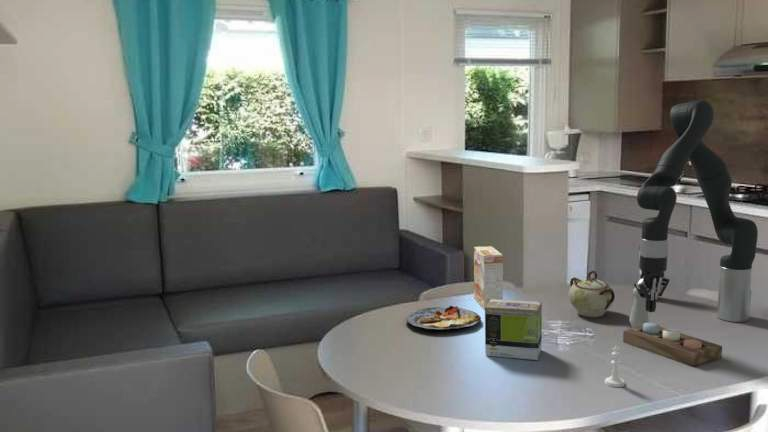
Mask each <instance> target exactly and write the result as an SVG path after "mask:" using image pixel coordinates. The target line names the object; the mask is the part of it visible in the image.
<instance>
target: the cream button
mask: <svg viewBox="0 0 768 432" xmlns="http://www.w3.org/2000/svg"><path fill="white" fill-rule="evenodd" d="M680 333H681V331H680V330H678V329H674V328H667V329H664V330H663V338H662V339H664V340H667V341H670V342H677V341H680Z"/></svg>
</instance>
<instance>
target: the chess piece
mask: <svg viewBox="0 0 768 432" xmlns="http://www.w3.org/2000/svg"><path fill="white" fill-rule="evenodd" d="M611 350H612V351H613V352H611V353H610V354H611V357H612V360H611V362H610V363H611V365H612V371H611V375H610V376H609V377H606V378H605V379H604V384H605V385H606V386H609V387H612V388H621V387H624V386H626V385H625V384H626V383H625V380H624V379H623V378H621V377H620V376H619V370H618V365H620V364H621V363H620V361H619V357H620V352H619V351H620V347H618V345H614V347H612V348H611Z"/></svg>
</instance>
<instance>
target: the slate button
mask: <svg viewBox="0 0 768 432" xmlns="http://www.w3.org/2000/svg"><path fill="white" fill-rule="evenodd" d="M659 327H661V326H660V324H659V323H655V322H649V323H643V333H646V334H649V335H652V336H653V335H657V334H659Z"/></svg>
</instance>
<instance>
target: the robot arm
mask: <svg viewBox="0 0 768 432" xmlns="http://www.w3.org/2000/svg"><path fill="white" fill-rule="evenodd" d="M714 115H715V114H714V109H713V106H712V104H711V103H710V102H708V101H707V100H704V99H701V100H700V99H699V100H693V101H688V102H682V103H679V104H675V105H673V106H672V107H671V109H670V112H669V119H670V123H671V127H672V129H673V131H674V133H675V135H676V137H677V138H678V139H677V140H676V141H675V142H674V143H673V144H671V145H670V146H669V147H668V148H667V149H666V151H665V152H664V153H663V154H662V156H661V157H660V160H658V161H659V162H658V163H657V165H656V168H655V170H654V172H653V173H652V174H651V175H650V176H649V177H648V178H647V179H646V181H644V183H642V185H641V186H640V188H639V189H638V192H637V194H636V203H637V205H638V206H639V207H640V209H644V210H651V211H658V214H657V216H656V217H646V218H645V219H643V221H642V223H641V240H640V244H639V246H640V260H638V263H639V264H638V265H639V266H638V267H639V270H640V269H641V271H642V273H641V276H640V275H639V280H638V282H636V281H635V282H634V284H633V286H634V288H636V289H637V291H638V293H639V295H640V296H641V297H642V298H645V299H646V307H645V308H646V311H647V312H648V313H655V312H656V308H657V300H659V299H658V298H659V297H662V296H663V294H664V292H665V290H666V289H667V286H668V285H669V283H670V279H669V278H666V276H665V272H666V271H667V269H668V267H667V266H668V253H669V246H668V238H669V236H668V235H669V224H670V221H671V218H672V214H673V211H674V209H675V206H676V203H677V200H678V199H677V193H676V191H675V189H674V188H673V187H674V186H676V185H677V184H678V182H679V179H680V178H681V176H682V173H683V171H684V169H685V166H686V164H687V162H688V160H689V163H690V165H691V167H692V170H693V173H694V175H695V177H696V178H695V179H696V180H697V183H698V185H699V188H700V189H701V192H702V195H703V197H704V200H705V202H706V205H707V207H708V210H709V212H710V216H711V220H712V224H713V225H712V226H713V228H714V231H715V234H716V237H717V238H718V240H719V241H720V242H722V243H723V244H725V245H730V246H732V247H731V251H730V254H726V255H722V256H721V258H720V260H719V277H718V280H719V281H718V293H717V307H716V308H717V309H716V311H717V312H716V313H717V314H716V317H717V318H718V319H720V320H723V321H726V322H733V323H735V322H736V323H737V322H739V323H743V322H748V321H749V319H750V318H751V317H750V315H751V303H752V300H751V299H752V288H751V286H752V285H751V284H752V269H753V263H754V261H755V258H756V254H757V253H756V252H757V244H758V236H759V235H758V234H759V233H758V231H759V230H758V226H757V224H756V223H755V222H754V221H753V220H751V219H748V218H743V217H738V216H736V215H735V214H734V211H733V210H732V207H731V205H730V200H729V199H730V194H731V190H732V185H733V184H732V183H733V182H732V177H731V174H730V171H729V169H728V167H727V165H726V162H725V161H724V159H723V158H722V157H721V156H720V155H719V154H717V153H716V152H715V151H714V150H712V149H711V148H710V147H709V146H708V145H706V144H705V143H704V142H703V141H702V140H703V138H704V137H705V135H706V134H707V133H708V131H709V129H710V127H711V126H712V124H713V121H714Z"/></svg>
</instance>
